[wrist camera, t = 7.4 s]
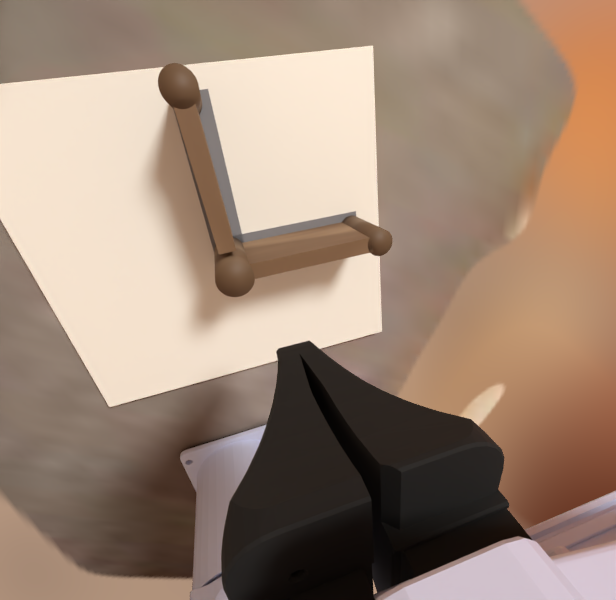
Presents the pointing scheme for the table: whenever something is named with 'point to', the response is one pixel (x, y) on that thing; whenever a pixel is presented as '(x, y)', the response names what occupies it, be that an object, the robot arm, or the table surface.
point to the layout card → (191, 212)
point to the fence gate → (197, 147)
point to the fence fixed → (296, 252)
